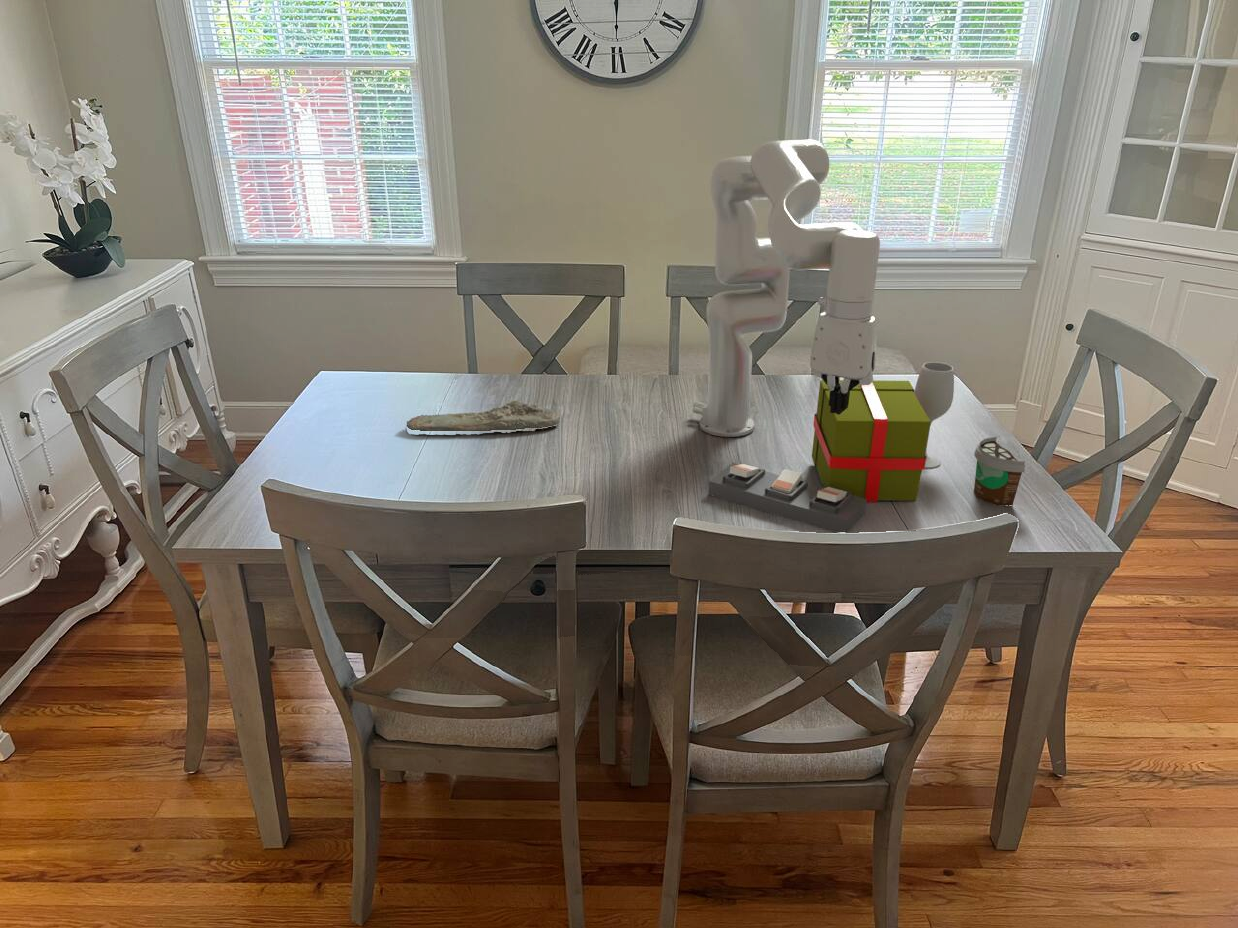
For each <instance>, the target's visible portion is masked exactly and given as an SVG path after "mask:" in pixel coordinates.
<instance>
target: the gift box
mask: <svg viewBox="0 0 1238 928" xmlns="http://www.w3.org/2000/svg"><path fill="white" fill-rule="evenodd" d="M842 383H843V379H840V385H841V387H842ZM914 390H915V388H914V386H912V384H911V382H910V381H909V380H873V382H872V383H871V384H870V385H857V386H855V387H854V388H853V389H851V390H850V396H849V404H848V408H847V409H845V411H843V412H842V413H841V414H840V415H838V414H836V413H830V409H831V406H829V396H830V390H828V386H827V384H826V383H825V382H824V380H823V379H820V381H819V390H818V397H817V407H816V413H814V417H813V428H814V431H813V432H814V433H813V434H814V435H813V442H812V451H811V458H812V462H813V464H814V467H816V470H817V471H818V475H819V478H820V481H821V484H822V487H825V486H827V487H831V488H835V489H838V490H842V491H846V492H849V493H853V495H855V496H858V497H862V498H866V499H867V500H866V503H867V502H868V503H878V501H902V502H903V501H904V502H905V501H909V502H911V501H912V502H914V501H915V502H916V501H917V498H918V493H919V488H920V483H921V478H922V472H923V471H924V470H925V469H926V468H925V461H926V456H925V451H926V452H927V449H926V446H927V447H928V443H927V441H929V437H928V435H929V436H930V431H931V426H930V425H932V423H931V421H930V420H929V418H928V416H927V415H926V413H925V411H924V409H923V408H922V406H921V404H920V403H919V401H918V399H917V398H916V396H915V394H914ZM929 430H930V431H929Z"/></svg>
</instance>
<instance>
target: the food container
mask: <svg viewBox="0 0 1238 928" xmlns="http://www.w3.org/2000/svg"><path fill="white" fill-rule="evenodd" d="M997 438H998V437H997V436H991V437H987V438H984V439H981V440H980V441H979V443H978V444H977V445H976V448H975V450H974V452H973V455H974V457H975V459H976V467H975V476H974V486H973V487H974V488H973V494H974V496H975V497H977V499H979V500H981V501H983V502H984V503H987V502H988V503H987V504H990V503H991V504H990V505H994V504H995V506H998V505H1004V506H1003V507H1006V506H1005V505H1008V506H1009V505H1012V506H1014V502H1015V498H1016V494H1017V491H1018V488H1019V484H1020V481H1021V477H1022V474H1023V473H1025V467H1026V464H1025V463H1026V461H1025V460H1017V459H1016V458H1015V456H1014V455H1013V454H1012V453H1011V452H1010V450H1008V449H1006V448H1004V447H1002V446H1001V445H1000V444H999V443H998V442H997ZM1008 506H1007V507H1008ZM1009 507H1010V506H1009Z"/></svg>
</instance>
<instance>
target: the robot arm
mask: <svg viewBox="0 0 1238 928" xmlns="http://www.w3.org/2000/svg"><path fill="white" fill-rule="evenodd" d="M829 170H830V157H829V154H828V151H827V150H826V148H825V146H824V145H823V144H822V143H821V142H819V141H817V140H815V139H790V140H789V139H786V140H782V139H781V140H770V141H768V142H765V143H763V144H761V145H759V146H758V147H757V148H756V149H755V150H754V152H753V153H752V155H740V156H739V155H737V156H733V157H727V158H724V159H721V160H720V161H718V162H717V163H716V164H715V165H714V167H713V169H712V172H711V177H710V185H709V186H710V194H711V200H712V204H713V208H714V212H715V217H716V218H715V219H716V222H715V223H716V224H715V225H716V226H715V255H714V256H715V257H714V259H715V260H714V264H715V266H714V267H715V269H714V270H715V276H716V278H717V280H718V282H720V284H723V285H727V286H743V285H744V286H746V285H756V284H761V288H754V289H753V288H752V289H738V290H727V291H721V292H718V293H716V294H715V295H713V296H712V297H711V298H710V299H709V300H708V301H707V304H706V305H707V306H706V318H707V319H706V322H707V327H708V342H709V344H708V345H709V348H708V349H709V350H708V351H709V352H708V353H709V354H708V377H707V378H708V379H707V397H706V399H707V401H706V403H703V402H702V401H694V403H693V405H692V413H693V414H697V415H698V414H699V415H701V416H702V417H701V418H700V420H699V427H700V429H701V430H702V431H703V432H705V433H706V434H708V435H713V436H716V437H721V438H722V437H723V438H737V437H742V436H743V437H744V436H747V435H749V434H750V433H753V431H754V430H755V427H756V426H755V420H753V419H752V418H751V417H750V416H749V412H750V395H751V381H752V368H753V367H752V365H753V353H752V349H751V348H750V346H749V345H748V344H747V342H746V341H745V340H744V336H745V335H751V334H762V333H770V332H771V333H772V332H775V331H778V330H780V329H781V328H782V327H783V326H784V324H785V323H786V319H787V314H788V313H787V312H788V302H789V301H788V299H789V287H790V285H789V284H790V271H791V270H790V269H792V270H794V271H810V270H823V269H829V270H828V281H827V291H826V295H825V296H824V297H823V296H819V297H818V301H817V304H818V306H822V307H823V308H824V309H823V312H821V313H820V314H819V315H818V320H817V323H816V327H815V332H814V336H813V340H812V345H811V349H810V350H811V351H810V359H809V367H810V369H811V370H810V374H811V375H813V376H816V377H818V378H820V379H821V380H824V382H825V383H826V384H827V386H828V390H830V396H829V406H831V409H830V413H836V414H838V415H840V414H841V413H842V412H843V411H845V409H847V408H848V404H849V396H850V390H851V389H853V388H854V387H855V386H857V385H870V384H871V383H872V382H873V381H874V377H873V376H874V375H873V372H874V370H875V366H876V359H877V324H876V319H875V317H874V316H872V315H873V308H874V297H875V289H876V280H877V272H878V265H879V256H880V249H881V248H880V247H881V241H880V238H879V236H878V235H877V234H876V233H875V232H872V231H868V230H864V229H862V227H860V226H859V225H858V224H857V223H854V222H849V221H839V222H838V221H837V222H819V223H817V222H816V223H815V222H814V223H804V224H803V223H802V224H799V223H798V221H801V220H802V219H804V218H806V217H808V215H810V214H811V213H812V212H813V211H814V210H815V208H817V205H818V204H819V201H820V200H821V199H820V198H821V195H822V194H821V186H820V185H821V184H823V182H824V181H825V180H826V178H827V177H828V174H829ZM764 200H765V201H766V200H769V201H770V203H771V204H772V207H771V209H770V212H769V216H768V225H767V226H768V227H767V229H768V236H769V237H758V236H757V234H758V233H757V232H758V216H757V214H756V211H755V210H754V209H755V208H753V206H752V204H751V203H750V201H764ZM841 378H842V380H843V383H842V387H841V385H840V380H841Z"/></svg>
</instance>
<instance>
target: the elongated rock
mask: <svg viewBox="0 0 1238 928" xmlns="http://www.w3.org/2000/svg"><path fill="white" fill-rule="evenodd" d="M560 419H561V418H560V414H559V413H558V412H557V411H555V410H550V409H549V408H544V407H543V406H540V405H535V404H529V403H523V402H522V403H521V402H520V401H519V400H511V401H510V402H507V403H506V404H505V405H503V406H502V407H501V406H500V407H495V408H492V409H490V410H486V411H482V412H481V411H480V412H463V413H462V412H459V413H445V414H432V415H430V414H429V415H427V414H425V415H424V414H421V415H418V416H415V417H411V418H410V419H409V420H407V421H406V426H407V427H408V428H409V429H411V430H420V431H491V430H516V429H525V428H542V427H548V426H553V425H556V424H558V423H560ZM558 425H559V424H558Z"/></svg>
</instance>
